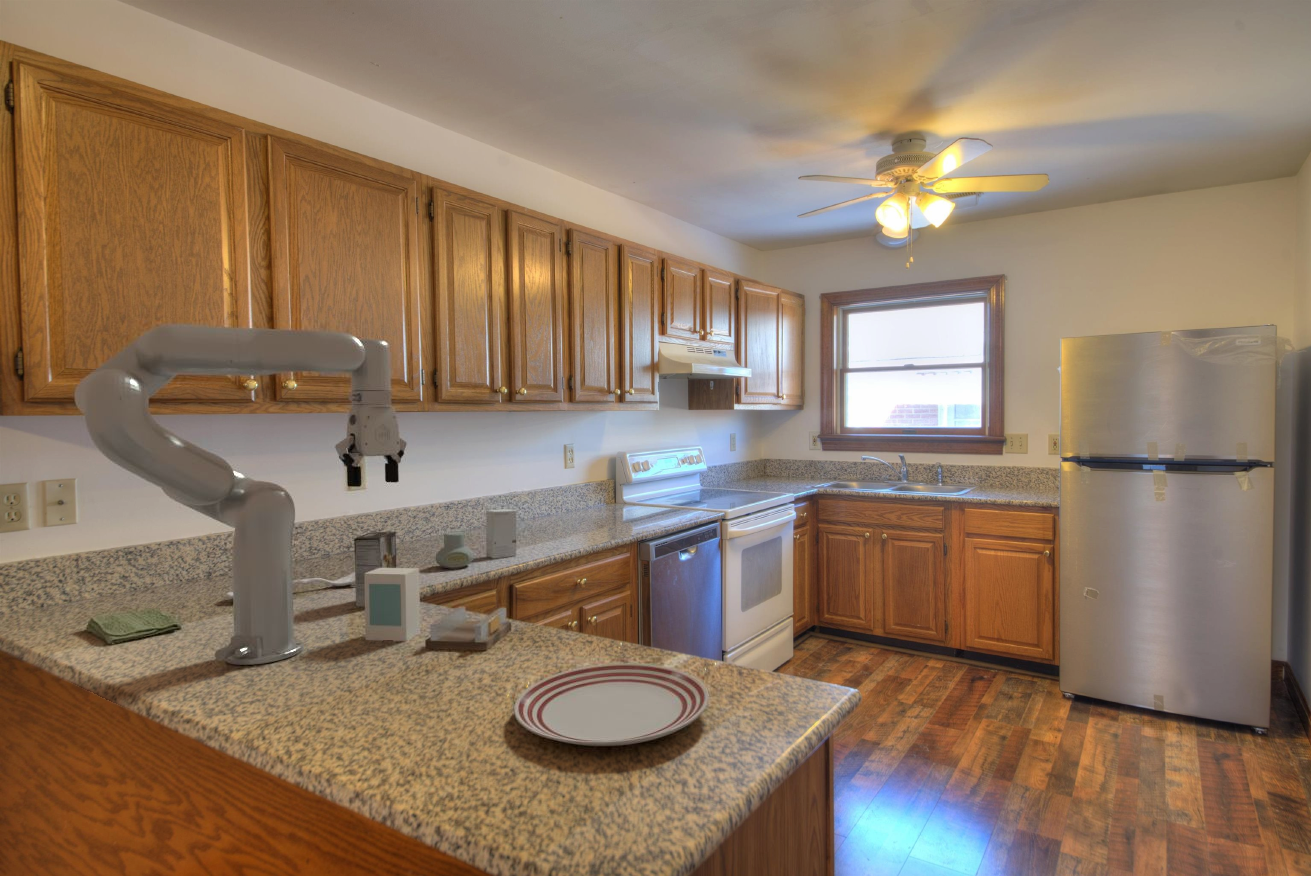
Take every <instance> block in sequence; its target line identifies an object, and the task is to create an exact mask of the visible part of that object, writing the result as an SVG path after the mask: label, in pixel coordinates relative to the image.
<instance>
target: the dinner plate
mask: <svg viewBox="0 0 1311 876" xmlns="http://www.w3.org/2000/svg"><path fill="white" fill-rule="evenodd" d="M709 703H710V694H709V691H708V688H707V686H706V685H705V684H704V683H702V681H701V680H699V679H698V678H696V677H694V676H693V675H691V674H689V673H686V672H684V671H682V670H679V669H674V668H671V667H666V666H661V665H656V664H649V663H634V662H633V663H631V662H630V663H629V662H627V663H625V662H624V663H605V664H603V663H602V664H595V665H588V666H583V667H579V668H574V669H569V670H566V671H561V672H559V673H555V674H553V675H550V676H548V677H545V678H543V679H540V680H538V681H537V682H536V683H533V684H531V685H530V686H529V687H528V688H525V690H524V691H523V692H521V694H519V696H518V697H517V699H516V701H515V703H514V706H513V712H514V716H515V719H516V721H517V722H518V723H519V724H520V725H521V726H522V727H523V728H525V729H526V730H527V731H529V732H531V733H532V734H535V735H537V736H540V737H542V738H546V739H551V740H552V741H554V740H555V741H558V742H562V743H566V744H571V745H572V744H573V745H578V746H579V745H581V746H591V747H615V746H625V745H626V746H627V745H633V744H640V743H645V742H649V741H653V740H657V739H659V738H663V737H666V736H669V735H671V734H674V733H675V732H678V731H680V730H682V729H684V728H685V727H687V726H689V725H691V723H693V722H694V721H696V720H697V719H698V718H700V716H701V715H702V714H703V713H704V712H705V711H706V709H707V707H708V705H709Z"/></svg>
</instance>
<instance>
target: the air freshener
mask: <svg viewBox="0 0 1311 876" xmlns="http://www.w3.org/2000/svg"><path fill="white" fill-rule="evenodd" d="M434 557H435V558H434V560H435V561H436V564H437V565H439V566H441V567H442V568H445V569H448V570H449V569H450V570H458V569H462V568H465V567H467V566H468V565H470V564H471V563H472V562H473V560H474V557H475V553H474V551H473V550H472V549H471V548H469V547H468V546H466V538H465V532H463V531H449V532H444V535H443V548H441V549H440V550H438V551H437V552H436V553H435V556H434Z"/></svg>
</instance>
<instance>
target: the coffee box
mask: <svg viewBox="0 0 1311 876" xmlns="http://www.w3.org/2000/svg"><path fill="white" fill-rule="evenodd" d="M353 541H354V544H353V547H354V548H353V549H354V572H355V583H354V584H355V585H354V586H355V607H364V608H365V578H364V574H365V573H367V572H370V571H372V570H375V569H378V568H397V540H396V531H376V532H375V531H372V532H368V533H366V534H363V535H360V536H358V537H354V538H353Z"/></svg>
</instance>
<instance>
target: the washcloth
mask: <svg viewBox="0 0 1311 876" xmlns="http://www.w3.org/2000/svg"><path fill="white" fill-rule="evenodd" d="M182 628H183V626H182V624H181V621H179V620H178V618H176V616H173V615H171V614H169V613H165V612H164V611H162V609H161V610H159V609H157V608H148V609H143V610H141V609H140V610H136V611H129V612H127V613H125V612H124V613H118V614H107V615H102V616H100V615H99V616H95V617H94V616H93V617H91V618H90V620H88V621H87V625H86V627H85V630H86V631H87V632H88V633H91V634H92V635H93V636H95V637H97V636H98V637H97V638H99V637H100V638H99V639H101V640H103V641H104V642H106V643H107V644H110V645H112V644H111V643H117V642H121V641H126V642H129V641H128V640H131V641H133V640H132V639H135V640H139V638H140V639H143V637H145V638H148V637H147V636H149V637H153V636H156V635H159V634H158V633H161V634H166V633H171V632H176V631H175V630H177V631H182V630H183V629H182ZM170 631H171V632H170ZM165 632H166V633H165ZM155 634H156V635H155ZM152 635H153V636H152ZM121 643H122V642H121ZM117 644H118V643H117Z"/></svg>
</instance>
